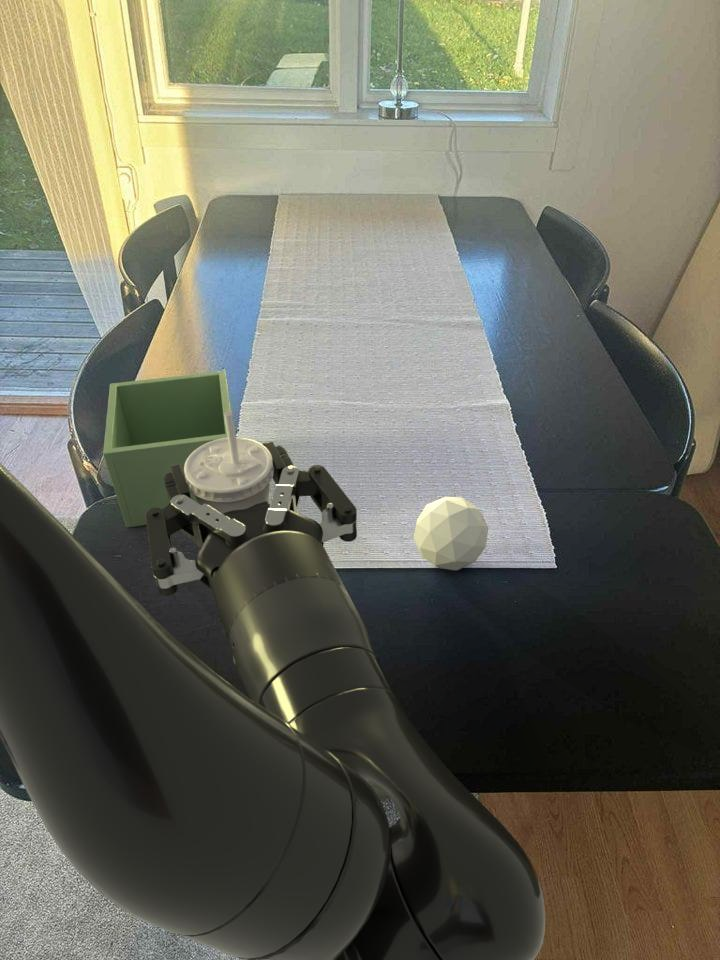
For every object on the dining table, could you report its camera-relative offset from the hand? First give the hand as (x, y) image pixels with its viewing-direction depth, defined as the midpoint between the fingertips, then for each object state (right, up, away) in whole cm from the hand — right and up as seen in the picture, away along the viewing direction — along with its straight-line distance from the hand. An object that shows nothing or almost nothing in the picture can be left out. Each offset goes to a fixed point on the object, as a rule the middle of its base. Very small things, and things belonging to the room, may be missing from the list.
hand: (223, 462), depth 53 cm
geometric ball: (+20, -10, +24) cm, 33 cm away
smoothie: (+1, -8, +4) cm, 9 cm away
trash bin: (-11, -1, +34) cm, 36 cm away
